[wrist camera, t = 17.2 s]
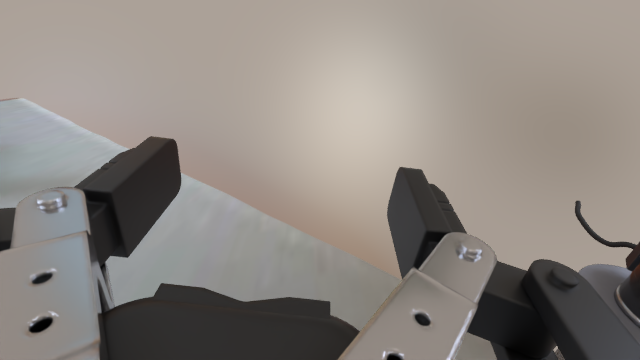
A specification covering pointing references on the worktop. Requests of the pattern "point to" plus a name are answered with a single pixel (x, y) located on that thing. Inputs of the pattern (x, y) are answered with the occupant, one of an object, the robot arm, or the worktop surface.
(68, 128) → the worktop surface
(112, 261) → the worktop surface
